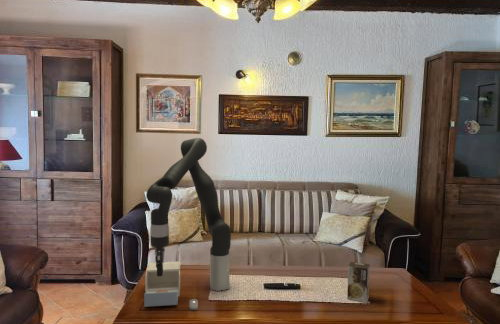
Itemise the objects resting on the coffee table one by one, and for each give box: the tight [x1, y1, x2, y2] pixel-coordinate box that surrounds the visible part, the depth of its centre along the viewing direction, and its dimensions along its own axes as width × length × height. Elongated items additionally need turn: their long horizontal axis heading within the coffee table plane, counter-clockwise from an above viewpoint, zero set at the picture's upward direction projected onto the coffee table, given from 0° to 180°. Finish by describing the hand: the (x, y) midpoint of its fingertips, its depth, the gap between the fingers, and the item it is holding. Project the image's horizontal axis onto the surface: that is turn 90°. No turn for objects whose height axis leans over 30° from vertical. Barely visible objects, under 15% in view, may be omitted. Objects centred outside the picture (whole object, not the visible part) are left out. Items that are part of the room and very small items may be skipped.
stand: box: [189, 298, 199, 312], centre depth 169 cm, size 4×4×4 cm
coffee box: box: [346, 261, 371, 303], centre depth 180 cm, size 9×6×16 cm
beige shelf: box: [144, 261, 181, 297], centre depth 187 cm, size 16×15×12 cm
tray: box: [143, 287, 179, 308], centre depth 175 cm, size 14×14×6 cm
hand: (160, 274), depth 162 cm, fingers open, 3 cm apart
